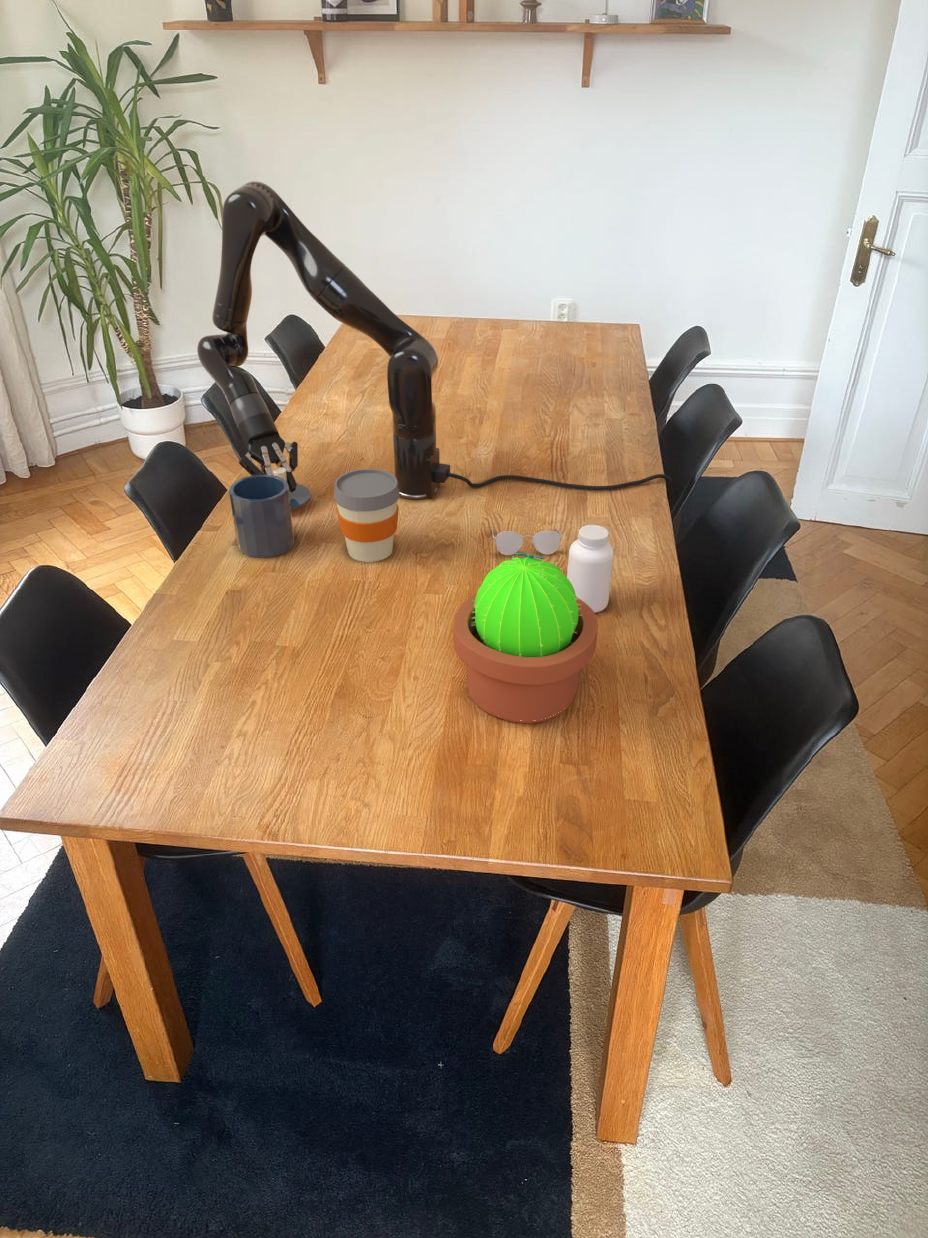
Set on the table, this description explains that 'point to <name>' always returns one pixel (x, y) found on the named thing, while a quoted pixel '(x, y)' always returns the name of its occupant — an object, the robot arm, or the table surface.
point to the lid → (301, 492)
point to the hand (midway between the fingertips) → (286, 492)
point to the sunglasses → (542, 541)
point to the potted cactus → (524, 640)
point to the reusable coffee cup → (367, 512)
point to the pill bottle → (591, 566)
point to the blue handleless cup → (262, 515)
